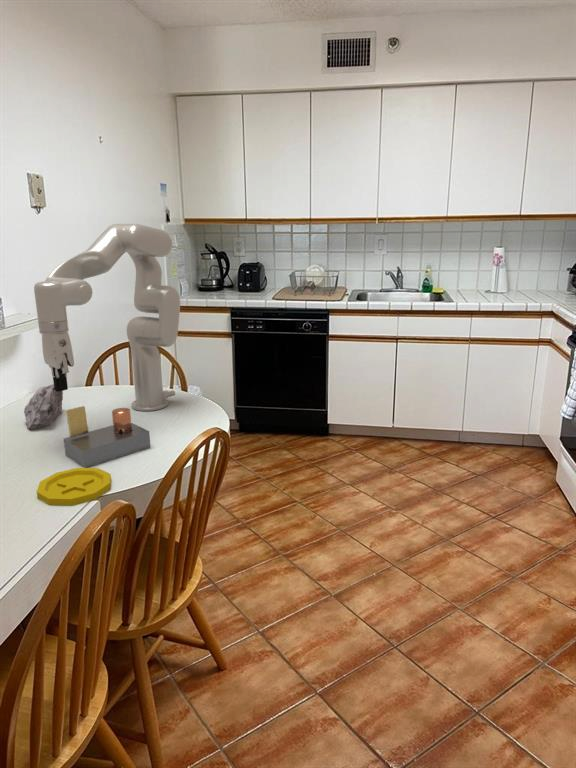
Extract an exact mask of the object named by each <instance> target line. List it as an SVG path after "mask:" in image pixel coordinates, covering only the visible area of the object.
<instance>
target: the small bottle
mask: <svg viewBox="0 0 576 768" xmlns="http://www.w3.org/2000/svg"><path fill="white" fill-rule="evenodd" d="M111 416H112V425H113V427H114V432H115V433H119V434H122V433H127V432H130V431H131V430H132V426H131V423H132V417H131V409H130V408H128V407H118V408H115V409H114V408H113V410H111Z"/></svg>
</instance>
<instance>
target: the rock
mask: <svg viewBox="0 0 576 768" xmlns="http://www.w3.org/2000/svg"><path fill="white" fill-rule="evenodd" d="M63 395H64V392H63V391H59V392H57V391H55V390H54V383H53V384H50V385H48V386H40V387H39V388H38V389H37V390H36V391H35V393H34V394H33V395H32V396H31V398H30V400H29V402H28V403H27V404H26V405H25V406H24V409H23V413H24V417H25V418H24V419H25V425H26V428H27V430H35V429H39V428H41V427H43V426H44V427H45V426H46V427H47V426H50V425H51V424H52V423H53V421H55V420H56V419H58V416H59V414H61V413H62V410H63V399H64V396H63Z"/></svg>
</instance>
